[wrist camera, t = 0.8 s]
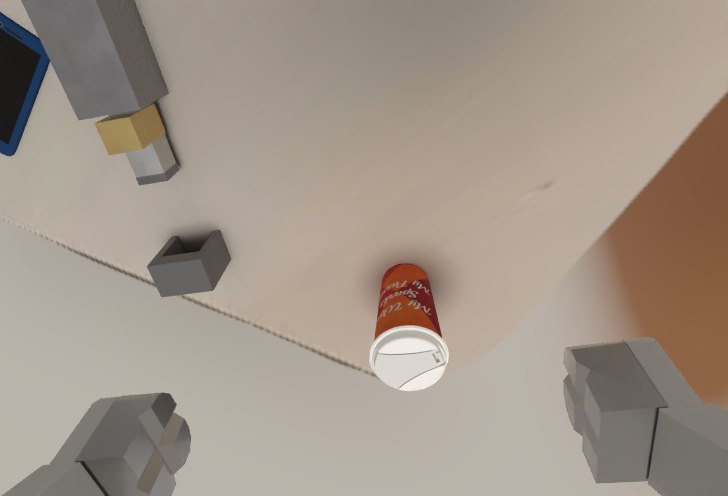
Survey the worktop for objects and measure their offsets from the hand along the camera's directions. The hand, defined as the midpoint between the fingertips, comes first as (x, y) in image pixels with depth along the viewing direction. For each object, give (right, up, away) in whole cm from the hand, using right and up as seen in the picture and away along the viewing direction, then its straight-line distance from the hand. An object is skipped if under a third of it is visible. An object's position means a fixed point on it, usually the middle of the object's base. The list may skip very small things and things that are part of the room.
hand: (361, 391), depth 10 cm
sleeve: (-23, +23, +35) cm, 48 cm away
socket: (-19, +3, +46) cm, 50 cm away
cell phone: (-37, +20, +38) cm, 57 cm away
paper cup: (+5, -1, +47) cm, 48 cm away
